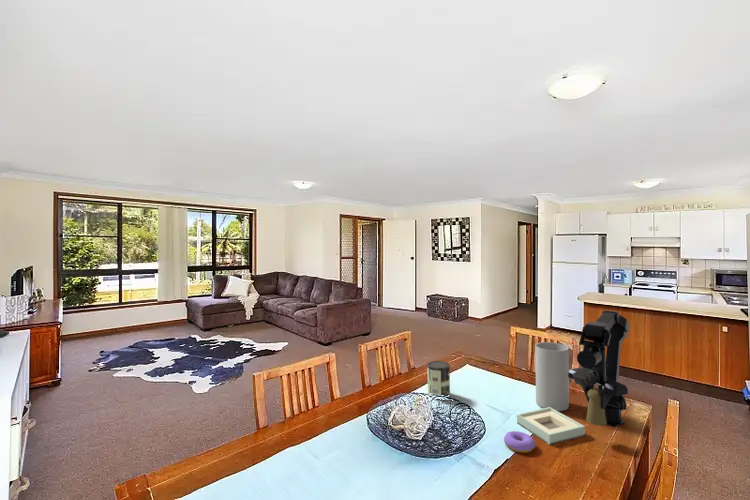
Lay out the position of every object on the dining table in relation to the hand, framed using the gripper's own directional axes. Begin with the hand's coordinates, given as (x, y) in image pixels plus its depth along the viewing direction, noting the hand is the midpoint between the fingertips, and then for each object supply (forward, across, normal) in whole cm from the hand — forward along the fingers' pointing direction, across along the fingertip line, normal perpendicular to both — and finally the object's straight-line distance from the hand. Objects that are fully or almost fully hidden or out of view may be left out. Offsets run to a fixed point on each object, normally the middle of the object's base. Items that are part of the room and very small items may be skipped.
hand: (596, 405), depth 128 cm
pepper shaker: (+6, 0, 0) cm, 6 cm away
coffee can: (+13, -54, -32) cm, 64 cm away
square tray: (+12, -12, -9) cm, 19 cm away
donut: (+13, -7, -27) cm, 31 cm away
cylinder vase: (+13, -27, +7) cm, 30 cm away
